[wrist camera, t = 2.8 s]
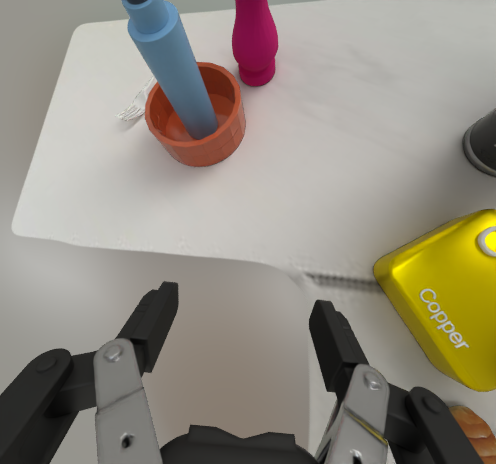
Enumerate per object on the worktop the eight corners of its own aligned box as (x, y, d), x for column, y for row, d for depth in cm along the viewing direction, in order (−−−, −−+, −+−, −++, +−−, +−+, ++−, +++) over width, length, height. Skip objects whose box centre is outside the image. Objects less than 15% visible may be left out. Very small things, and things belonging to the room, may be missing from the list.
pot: (208, 78, 38) (198, 46, 33) (263, 125, 35) (261, 97, 29) (148, 130, 37) (127, 106, 32) (197, 183, 34) (183, 166, 29)
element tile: (365, 265, 28) (383, 263, 23) (464, 212, 28) (502, 199, 23) (441, 380, 24) (480, 404, 20) (557, 320, 24) (623, 330, 20)
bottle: (204, 106, 36) (139, -53, 19) (224, 124, 35) (174, -28, 17) (181, 126, 36) (92, -16, 18) (200, 145, 35) (124, 12, 17)
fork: (191, 45, 40) (187, 34, 39) (133, 128, 38) (126, 121, 36) (177, 41, 41) (173, 30, 39) (120, 122, 39) (112, 114, 37)
